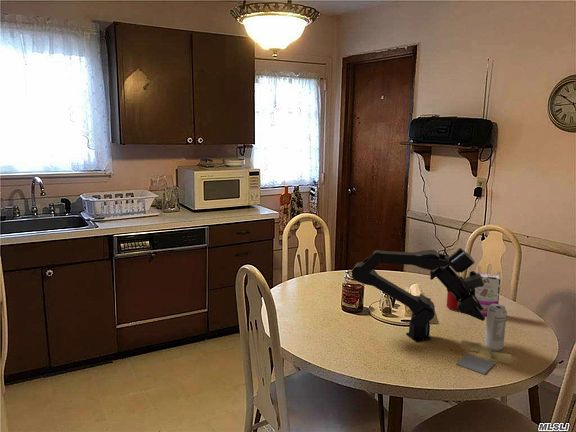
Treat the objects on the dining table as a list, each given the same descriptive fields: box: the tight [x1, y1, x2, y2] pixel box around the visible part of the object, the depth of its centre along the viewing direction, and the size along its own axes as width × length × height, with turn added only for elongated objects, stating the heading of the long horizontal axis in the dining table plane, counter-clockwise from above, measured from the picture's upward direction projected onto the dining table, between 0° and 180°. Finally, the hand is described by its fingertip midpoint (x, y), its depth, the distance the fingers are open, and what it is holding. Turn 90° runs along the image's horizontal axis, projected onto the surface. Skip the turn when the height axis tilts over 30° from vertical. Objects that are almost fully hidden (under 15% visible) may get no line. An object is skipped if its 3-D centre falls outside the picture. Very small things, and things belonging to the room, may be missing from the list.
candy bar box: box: [475, 272, 502, 317], centre depth 191 cm, size 11×5×16 cm, turn 68°
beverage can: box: [446, 291, 461, 312], centre depth 196 cm, size 7×7×12 cm
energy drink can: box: [483, 303, 508, 352], centre depth 162 cm, size 6×6×15 cm
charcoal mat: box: [455, 353, 496, 376], centre depth 152 cm, size 9×9×1 cm
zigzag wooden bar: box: [460, 339, 512, 366], centre depth 158 cm, size 16×4×3 cm, turn 48°
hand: (482, 314), depth 163 cm, fingers open, 9 cm apart
